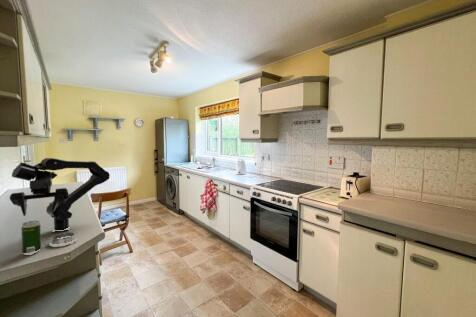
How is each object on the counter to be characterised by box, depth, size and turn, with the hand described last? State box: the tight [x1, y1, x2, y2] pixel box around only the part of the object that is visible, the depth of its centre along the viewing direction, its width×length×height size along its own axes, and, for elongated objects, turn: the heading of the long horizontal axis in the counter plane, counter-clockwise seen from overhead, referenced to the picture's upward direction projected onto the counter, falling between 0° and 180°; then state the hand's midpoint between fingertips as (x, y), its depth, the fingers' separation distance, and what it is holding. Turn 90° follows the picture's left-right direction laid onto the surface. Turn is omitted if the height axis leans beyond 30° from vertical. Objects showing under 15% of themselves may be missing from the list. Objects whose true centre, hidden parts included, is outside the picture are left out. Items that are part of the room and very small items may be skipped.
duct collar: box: [50, 231, 77, 244], centre depth 95 cm, size 10×10×3 cm
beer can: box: [20, 220, 42, 253], centre depth 85 cm, size 5×5×12 cm
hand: (39, 213), depth 92 cm, fingers open, 9 cm apart
